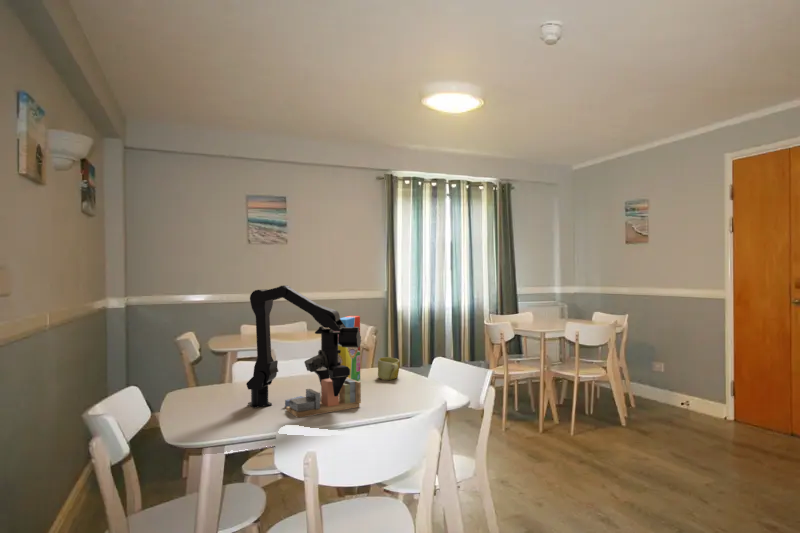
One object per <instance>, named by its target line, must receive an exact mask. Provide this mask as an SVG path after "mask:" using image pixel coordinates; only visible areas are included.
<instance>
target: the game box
mask: <svg viewBox="0 0 800 533" xmlns="http://www.w3.org/2000/svg"><path fill="white" fill-rule="evenodd" d="M340 320H341V321H342V322H343V324H344V325H345V326H346V327H349V328H353V327H359V331H360V332H361V316H360V315H348V316H344V317H340ZM336 332H340V331H336ZM338 337H339V334H338ZM338 350H341V353H338V362H341V365H344V366H347V367H348V368H349V369H350V375H348V377H347V378H350V379H353V380H356V381H358V382H359V381H360V380H361V346H360V347H359V348H354V347H342V346H341V345H340V344H339V341H338ZM341 365H340V366H341Z"/></svg>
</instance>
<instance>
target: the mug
mask: <svg viewBox="0 0 800 533" xmlns="http://www.w3.org/2000/svg"><path fill="white" fill-rule="evenodd" d="M400 365H401V364H400V359H398V358H397V357H395V358H394V357H391V356H384V357H379V358H378V360H377V370H378V371H377V378H378V379H381V380H383V381H384V380H385V381H388V380H389V381H390V380H395V379H397V378H398V377H399V371H400Z"/></svg>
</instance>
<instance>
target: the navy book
mask: <svg viewBox="0 0 800 533" xmlns="http://www.w3.org/2000/svg"><path fill="white" fill-rule="evenodd" d="M303 397H304V396H301V395H300V396H296V397H292V398H289V399H284V400H285V401H284V404H285V405H284V407H285V408H286V407H288V406H289V400H290V399H297V398H303Z"/></svg>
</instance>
